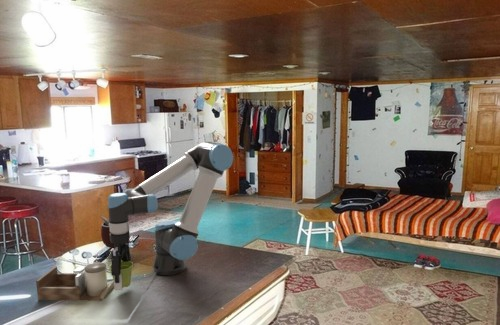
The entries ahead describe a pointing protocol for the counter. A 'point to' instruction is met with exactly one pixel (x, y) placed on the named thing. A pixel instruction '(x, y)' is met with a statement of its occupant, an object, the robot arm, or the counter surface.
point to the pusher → (81, 279)
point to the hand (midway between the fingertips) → (122, 284)
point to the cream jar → (96, 278)
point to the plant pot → (125, 273)
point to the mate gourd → (106, 234)
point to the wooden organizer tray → (64, 287)
